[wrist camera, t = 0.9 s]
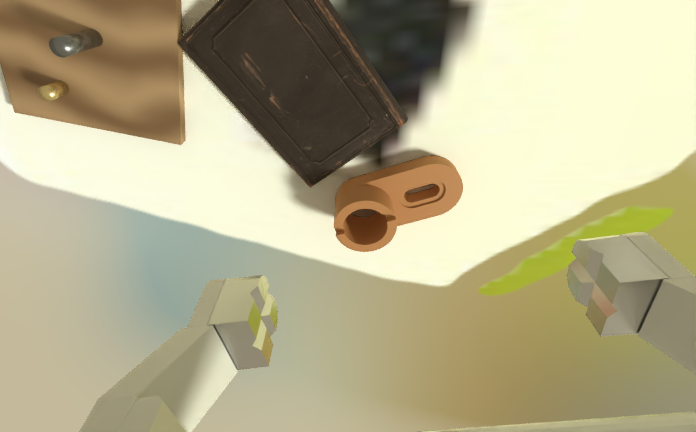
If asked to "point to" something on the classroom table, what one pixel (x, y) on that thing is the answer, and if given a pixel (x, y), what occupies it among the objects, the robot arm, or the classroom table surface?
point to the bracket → (394, 200)
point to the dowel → (53, 91)
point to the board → (99, 64)
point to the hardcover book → (296, 79)
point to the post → (75, 42)
